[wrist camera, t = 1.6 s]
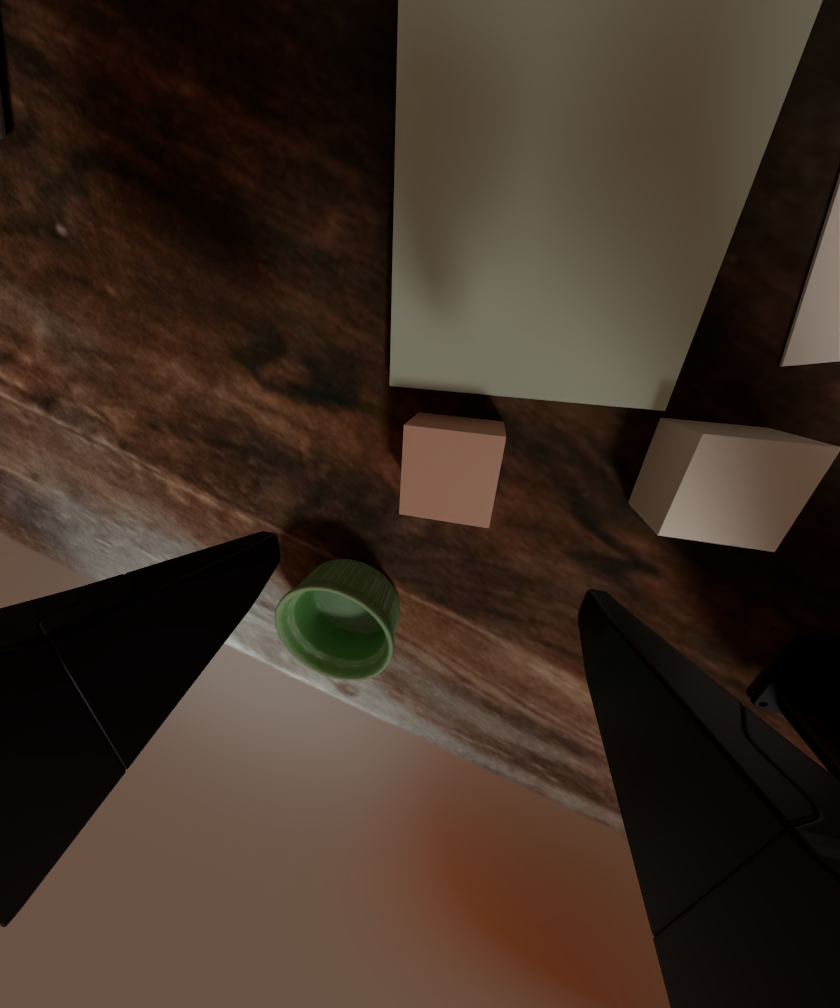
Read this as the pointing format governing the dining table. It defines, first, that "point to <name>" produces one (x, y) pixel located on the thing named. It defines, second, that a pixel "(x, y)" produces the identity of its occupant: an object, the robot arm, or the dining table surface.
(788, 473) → the cream brick
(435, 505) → the terracotta brick
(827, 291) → the page
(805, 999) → the robot arm
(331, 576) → the ramekin
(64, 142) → the dining table surface
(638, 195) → the baseplate
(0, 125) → the ceramic mug
